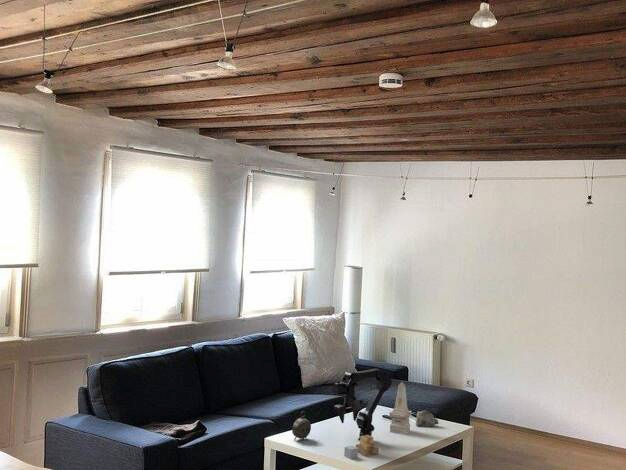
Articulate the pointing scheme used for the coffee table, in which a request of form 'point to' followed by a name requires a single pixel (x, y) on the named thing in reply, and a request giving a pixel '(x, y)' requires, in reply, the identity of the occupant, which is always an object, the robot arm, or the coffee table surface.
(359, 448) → the walnut block
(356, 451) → the grey cube
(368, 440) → the oak cube
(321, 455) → the coffee table surface
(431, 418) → the mineral rock
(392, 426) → the miniature monument
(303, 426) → the alarm clock
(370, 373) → the robot arm
